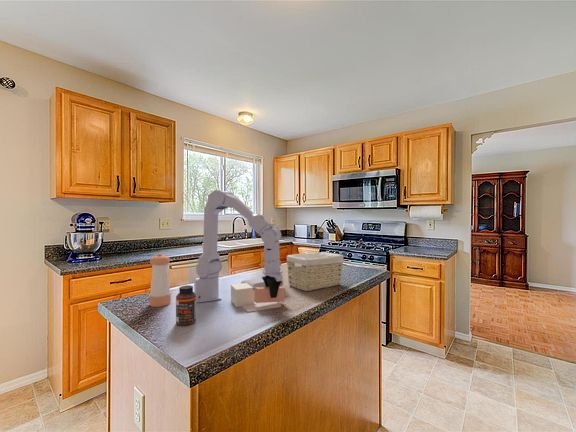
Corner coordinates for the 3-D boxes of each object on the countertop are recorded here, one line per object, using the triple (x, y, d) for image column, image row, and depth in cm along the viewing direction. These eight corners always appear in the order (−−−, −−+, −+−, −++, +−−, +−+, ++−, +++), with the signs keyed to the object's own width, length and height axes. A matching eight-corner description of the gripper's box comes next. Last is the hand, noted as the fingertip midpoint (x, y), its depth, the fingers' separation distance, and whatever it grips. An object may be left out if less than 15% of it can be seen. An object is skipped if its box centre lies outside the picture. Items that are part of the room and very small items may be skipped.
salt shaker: (164, 299, 110) (163, 251, 110) (174, 302, 106) (174, 253, 106) (145, 304, 104) (145, 254, 104) (156, 308, 100) (155, 255, 100)
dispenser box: (236, 307, 100) (236, 289, 100) (230, 300, 108) (230, 284, 108) (254, 304, 104) (254, 287, 103) (248, 298, 111) (248, 282, 111)
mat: (247, 312, 95) (247, 311, 95) (242, 307, 100) (242, 306, 100) (281, 306, 101) (281, 305, 101) (275, 302, 106) (275, 301, 106)
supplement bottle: (176, 327, 82) (175, 290, 82) (175, 320, 88) (175, 285, 88) (197, 324, 85) (196, 288, 85) (195, 317, 90) (195, 283, 90)
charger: (251, 284, 133) (270, 291, 122) (234, 288, 127) (252, 295, 116) (251, 275, 133) (270, 280, 122) (234, 278, 127) (252, 284, 116)
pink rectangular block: (256, 303, 98) (257, 289, 98) (254, 301, 100) (255, 287, 101) (284, 301, 103) (285, 288, 103) (281, 299, 105) (282, 286, 105)
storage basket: (322, 278, 144) (322, 250, 144) (345, 285, 131) (345, 254, 131) (284, 285, 131) (284, 254, 131) (306, 293, 117) (306, 259, 117)
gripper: (290, 262, 97) (290, 300, 97) (274, 256, 110) (274, 290, 111) (271, 263, 94) (272, 303, 94) (257, 257, 107) (257, 292, 107)
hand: (272, 296), depth 102 cm, fingers closed on pink rectangular block, 2 cm apart
